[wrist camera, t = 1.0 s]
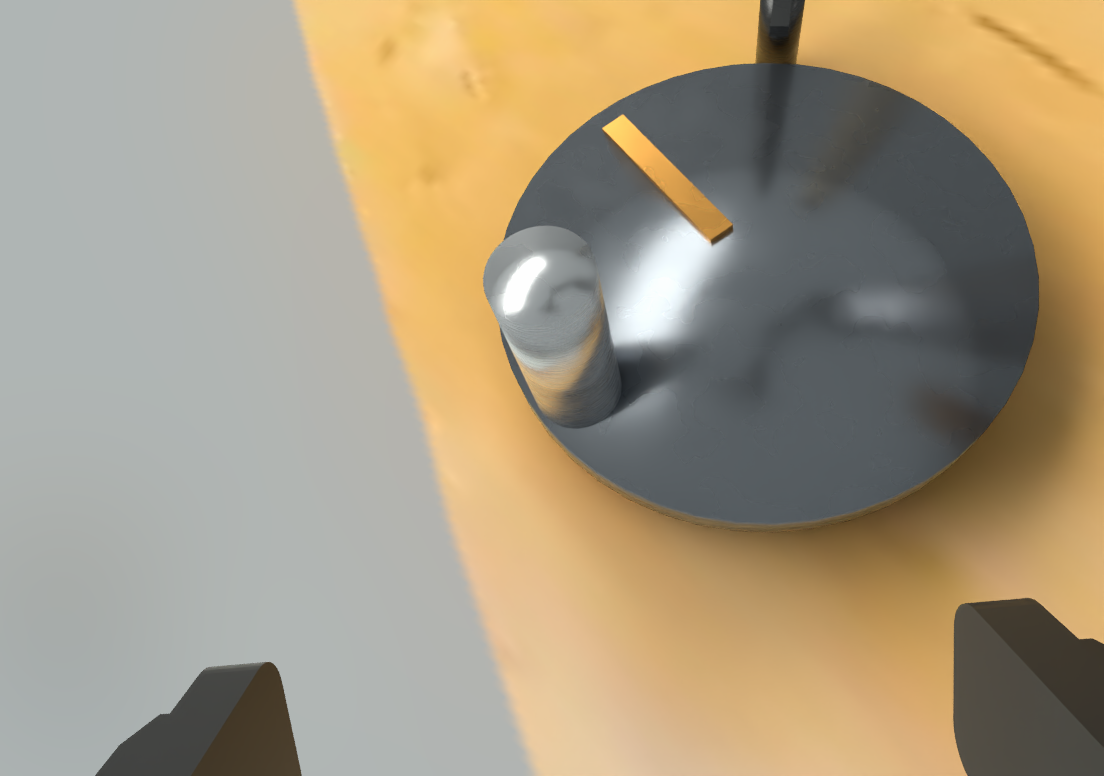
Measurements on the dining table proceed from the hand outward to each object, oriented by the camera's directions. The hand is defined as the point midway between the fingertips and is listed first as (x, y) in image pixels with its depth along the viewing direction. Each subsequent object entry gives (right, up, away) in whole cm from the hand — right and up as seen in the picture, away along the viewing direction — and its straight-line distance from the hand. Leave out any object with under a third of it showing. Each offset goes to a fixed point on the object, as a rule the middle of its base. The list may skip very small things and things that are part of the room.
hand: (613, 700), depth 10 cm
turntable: (+8, +8, +27) cm, 29 cm away
